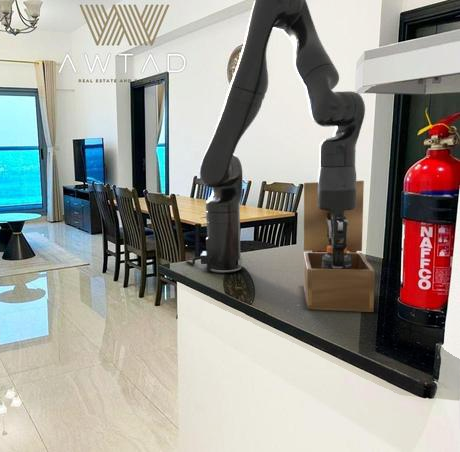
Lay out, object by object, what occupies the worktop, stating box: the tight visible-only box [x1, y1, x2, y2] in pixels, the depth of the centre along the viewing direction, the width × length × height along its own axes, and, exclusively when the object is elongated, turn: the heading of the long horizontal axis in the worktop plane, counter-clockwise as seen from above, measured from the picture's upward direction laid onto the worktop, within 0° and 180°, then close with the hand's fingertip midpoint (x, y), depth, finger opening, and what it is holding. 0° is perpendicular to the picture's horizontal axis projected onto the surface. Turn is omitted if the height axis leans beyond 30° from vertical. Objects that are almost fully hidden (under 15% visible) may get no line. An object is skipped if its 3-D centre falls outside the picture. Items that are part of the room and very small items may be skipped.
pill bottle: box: [322, 245, 351, 269], centre depth 102 cm, size 6×6×11 cm
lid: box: [303, 180, 365, 252], centre depth 110 cm, size 16×13×6 cm
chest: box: [303, 251, 376, 313], centre depth 102 cm, size 16×13×9 cm
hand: (336, 262), depth 102 cm, fingers closed on pill bottle, 6 cm apart
